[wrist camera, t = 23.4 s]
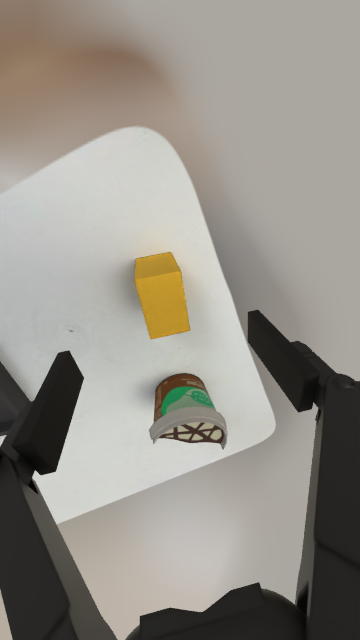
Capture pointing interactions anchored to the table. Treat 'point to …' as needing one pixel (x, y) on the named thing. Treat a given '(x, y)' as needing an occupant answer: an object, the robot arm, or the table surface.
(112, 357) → the table surface
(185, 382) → the food container
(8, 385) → the black shallow rectangular tray
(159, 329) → the yellow block
